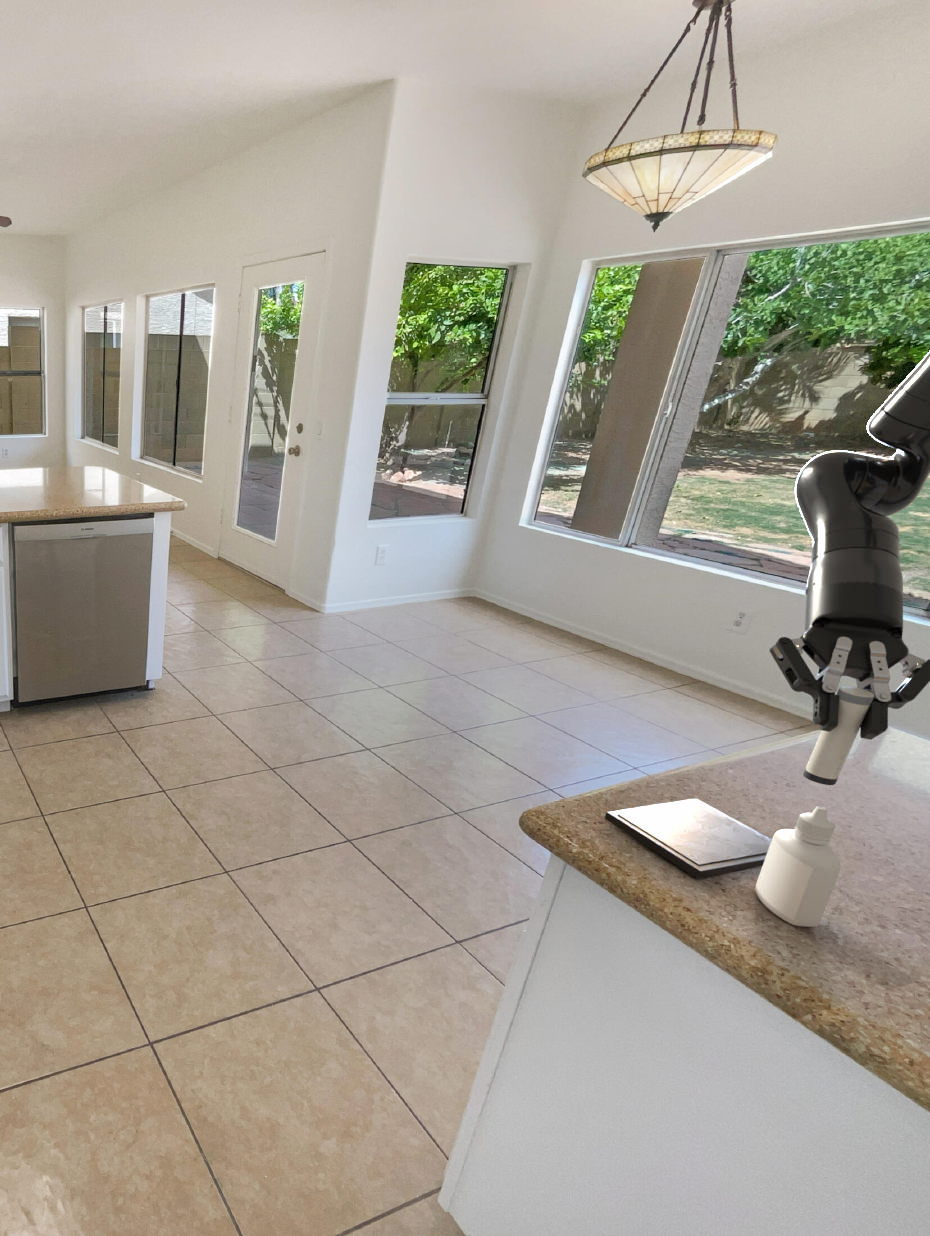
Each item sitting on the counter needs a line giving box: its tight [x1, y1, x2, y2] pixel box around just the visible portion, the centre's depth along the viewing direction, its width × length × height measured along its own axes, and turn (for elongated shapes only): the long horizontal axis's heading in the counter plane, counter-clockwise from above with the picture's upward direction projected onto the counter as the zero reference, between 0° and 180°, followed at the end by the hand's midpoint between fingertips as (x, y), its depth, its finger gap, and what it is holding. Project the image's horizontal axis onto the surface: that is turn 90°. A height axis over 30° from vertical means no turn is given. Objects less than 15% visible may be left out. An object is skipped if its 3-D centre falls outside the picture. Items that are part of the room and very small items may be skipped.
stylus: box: [802, 685, 874, 786], centre depth 77 cm, size 3×3×11 cm
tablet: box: [604, 798, 773, 880], centre depth 80 cm, size 14×11×1 cm
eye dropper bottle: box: [754, 805, 842, 928], centre depth 68 cm, size 4×6×12 cm
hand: (849, 732), depth 75 cm, fingers closed on stylus, 2 cm apart
